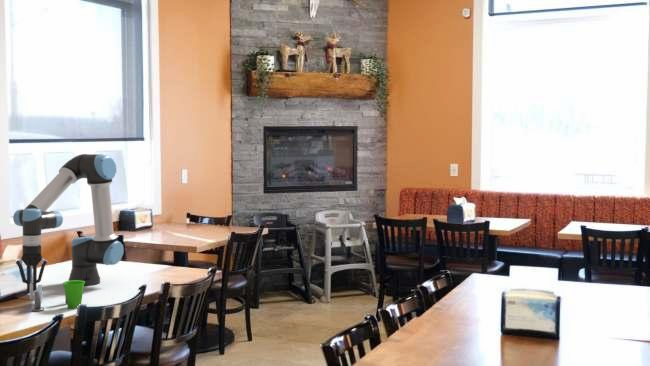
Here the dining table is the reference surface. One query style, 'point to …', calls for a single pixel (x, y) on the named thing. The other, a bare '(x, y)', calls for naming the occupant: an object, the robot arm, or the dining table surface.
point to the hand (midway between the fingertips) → (31, 298)
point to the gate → (38, 297)
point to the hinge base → (37, 310)
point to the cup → (74, 292)
